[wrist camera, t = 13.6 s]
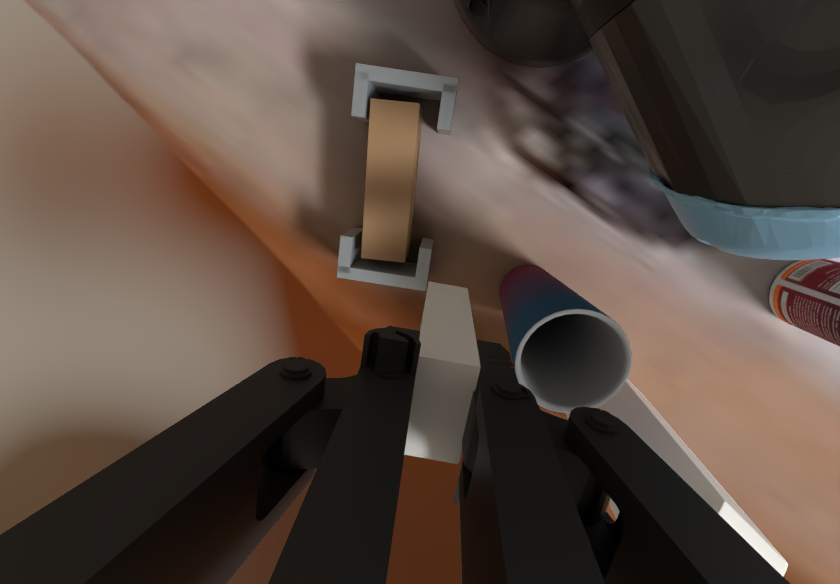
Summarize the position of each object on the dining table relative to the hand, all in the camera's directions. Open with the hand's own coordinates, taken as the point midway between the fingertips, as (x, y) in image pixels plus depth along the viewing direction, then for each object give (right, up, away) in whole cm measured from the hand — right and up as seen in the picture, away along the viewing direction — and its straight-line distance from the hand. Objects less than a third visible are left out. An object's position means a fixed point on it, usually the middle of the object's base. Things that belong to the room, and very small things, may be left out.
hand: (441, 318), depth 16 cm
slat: (-3, +11, +21) cm, 24 cm away
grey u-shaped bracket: (-2, +17, +19) cm, 25 cm away
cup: (+9, +1, +23) cm, 25 cm away
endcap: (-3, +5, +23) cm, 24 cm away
